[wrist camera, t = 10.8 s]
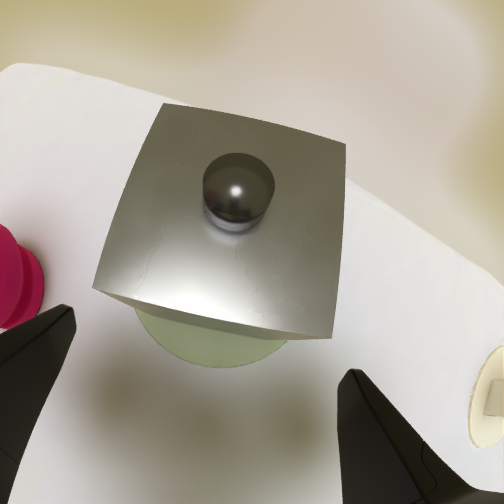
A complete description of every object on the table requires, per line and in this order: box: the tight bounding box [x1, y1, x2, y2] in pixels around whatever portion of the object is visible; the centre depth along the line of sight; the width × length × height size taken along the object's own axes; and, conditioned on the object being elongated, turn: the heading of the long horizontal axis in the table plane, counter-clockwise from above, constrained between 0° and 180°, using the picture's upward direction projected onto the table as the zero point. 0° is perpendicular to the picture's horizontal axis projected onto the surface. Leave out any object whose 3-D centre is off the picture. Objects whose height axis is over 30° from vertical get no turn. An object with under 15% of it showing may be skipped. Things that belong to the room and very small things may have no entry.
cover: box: [92, 103, 346, 340], centre depth 13 cm, size 7×7×11 cm
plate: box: [135, 308, 287, 368], centre depth 19 cm, size 12×12×1 cm
